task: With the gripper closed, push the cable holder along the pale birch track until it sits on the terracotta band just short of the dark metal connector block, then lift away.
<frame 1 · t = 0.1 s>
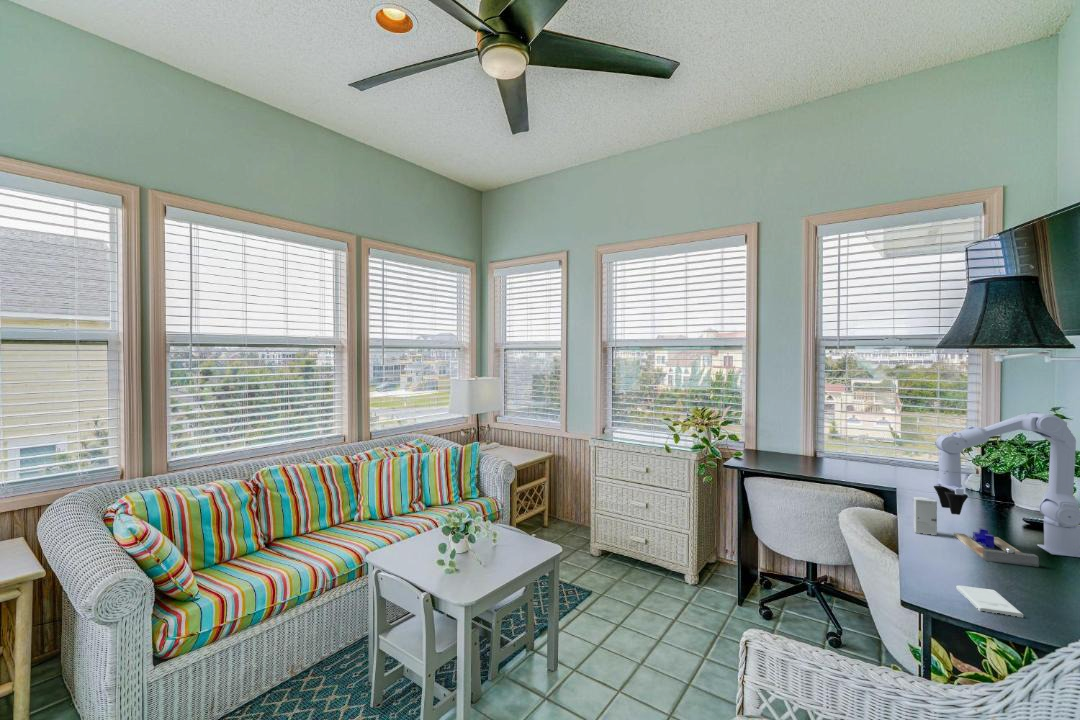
hand: (950, 510, 160), 10 cm above the table, tool pointing down, fingers open, 7 cm apart
connector block: (1010, 562, 142), on the table
birch track: (991, 549, 152), on the table
external hard drive: (987, 605, 119), on the table
skincare box: (925, 533, 167), on the table
cable holder: (983, 544, 157), on the table
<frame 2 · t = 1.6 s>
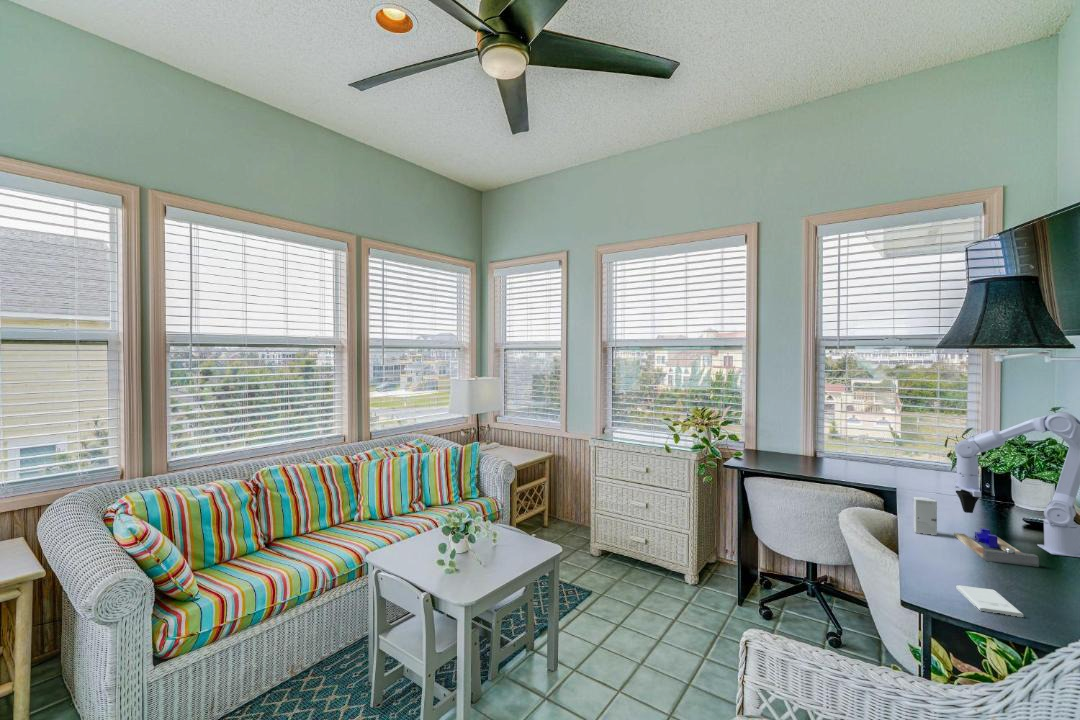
hand: (968, 512, 167), 7 cm above the table, tool pointing down, fingers closed
nothing on the table moved.
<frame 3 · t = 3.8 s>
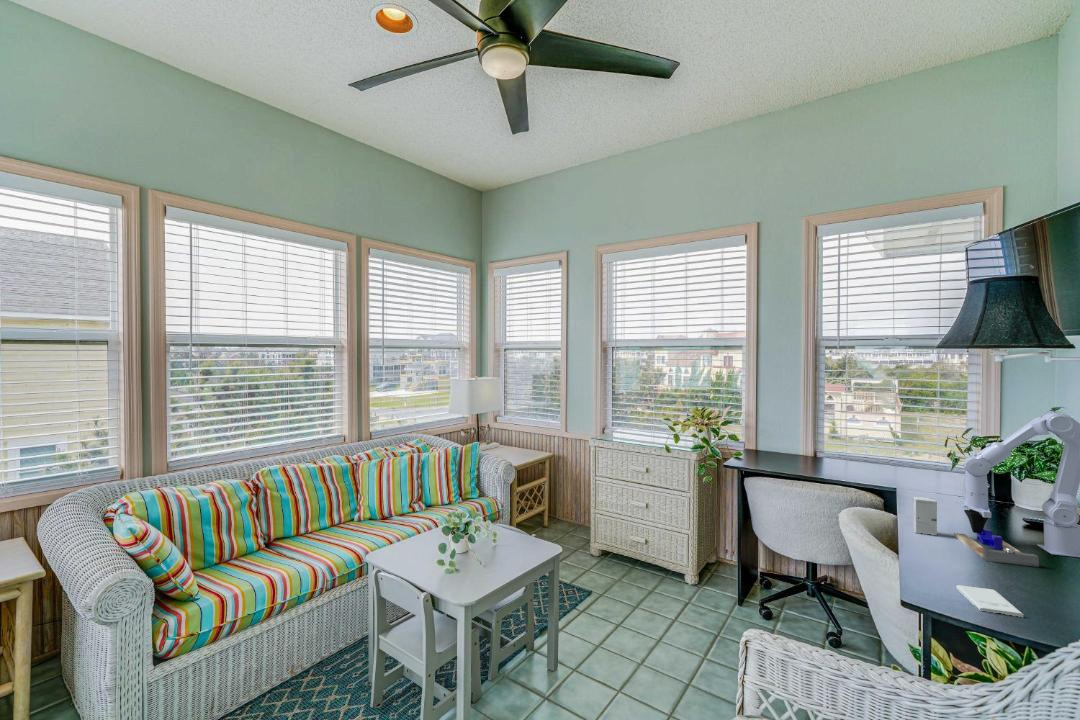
hand: (977, 532, 161), 2 cm above the table, tool pointing down, fingers closed
cable holder: (989, 545, 156), on the table, touching gripper
everything else where it was.
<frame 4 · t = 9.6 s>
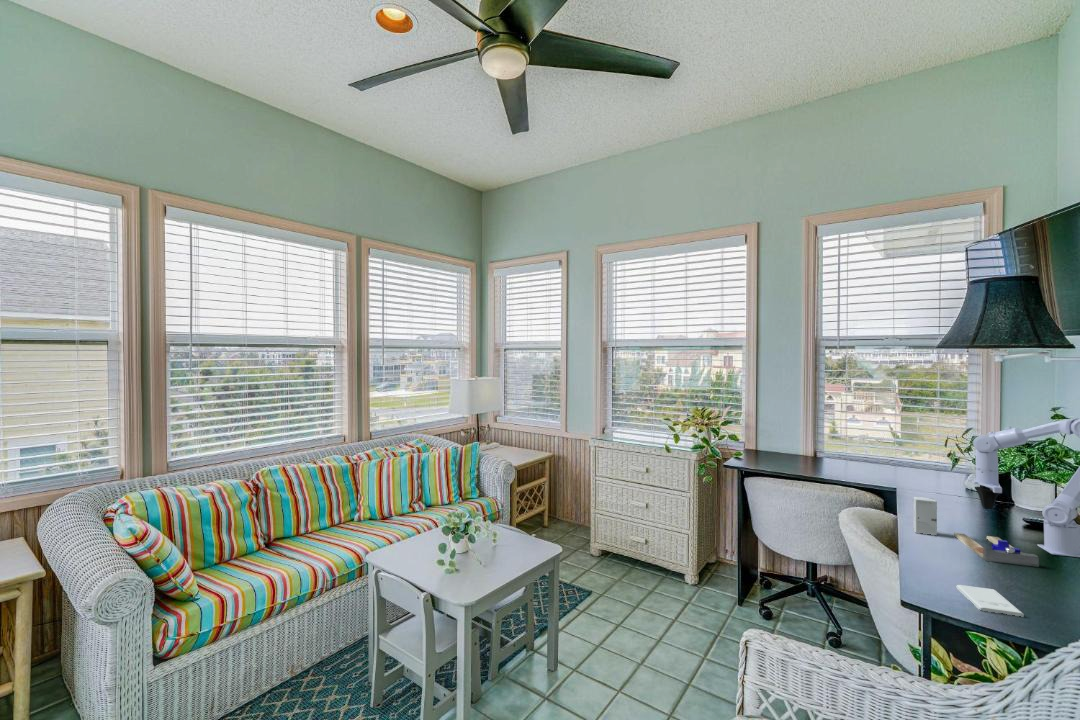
hand: (987, 508, 164), 9 cm above the table, tool pointing down, fingers closed
cable holder: (1006, 557, 146), on the table
everything else where it was.
at the end: cable holder 1.2 cm from the target spot, on the table; cable holder tilted 0°; the gripper is holding nothing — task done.
